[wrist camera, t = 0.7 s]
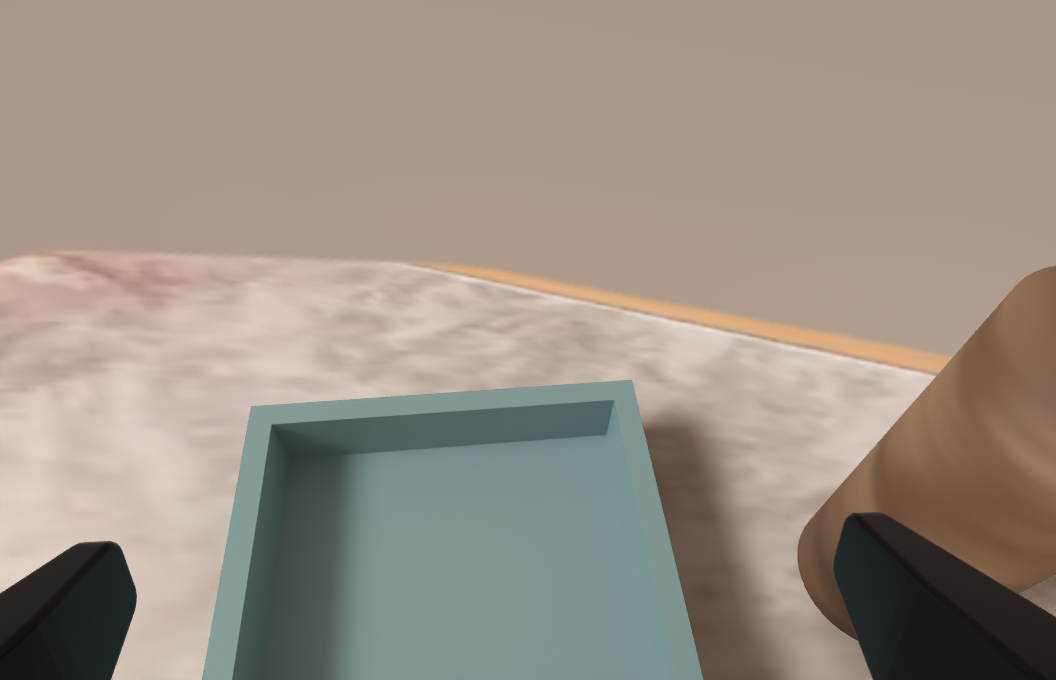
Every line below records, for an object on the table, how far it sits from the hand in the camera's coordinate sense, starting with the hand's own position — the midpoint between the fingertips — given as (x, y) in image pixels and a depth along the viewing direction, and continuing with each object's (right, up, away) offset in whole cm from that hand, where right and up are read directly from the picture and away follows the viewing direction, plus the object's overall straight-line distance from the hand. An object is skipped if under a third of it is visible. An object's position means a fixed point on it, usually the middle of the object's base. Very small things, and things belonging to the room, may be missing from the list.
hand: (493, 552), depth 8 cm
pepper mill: (+13, -6, +16) cm, 21 cm away
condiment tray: (-2, -7, +14) cm, 16 cm away
